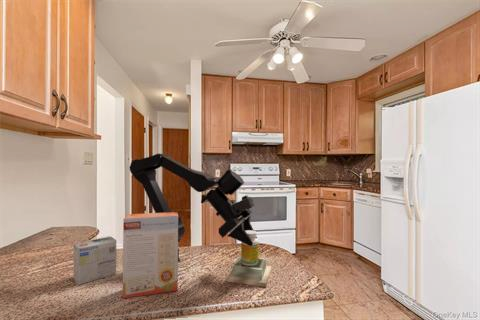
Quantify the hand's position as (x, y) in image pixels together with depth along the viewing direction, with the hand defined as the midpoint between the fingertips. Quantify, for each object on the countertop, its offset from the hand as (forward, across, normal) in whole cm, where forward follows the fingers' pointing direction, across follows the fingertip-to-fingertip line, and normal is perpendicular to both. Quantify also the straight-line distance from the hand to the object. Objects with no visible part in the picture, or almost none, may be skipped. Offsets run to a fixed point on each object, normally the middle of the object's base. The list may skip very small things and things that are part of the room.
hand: (254, 242), depth 76 cm
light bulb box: (-25, -16, +41) cm, 50 cm away
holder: (+7, 0, +8) cm, 11 cm away
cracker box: (-10, -17, +25) cm, 32 cm away
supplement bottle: (+4, 0, +6) cm, 7 cm away
